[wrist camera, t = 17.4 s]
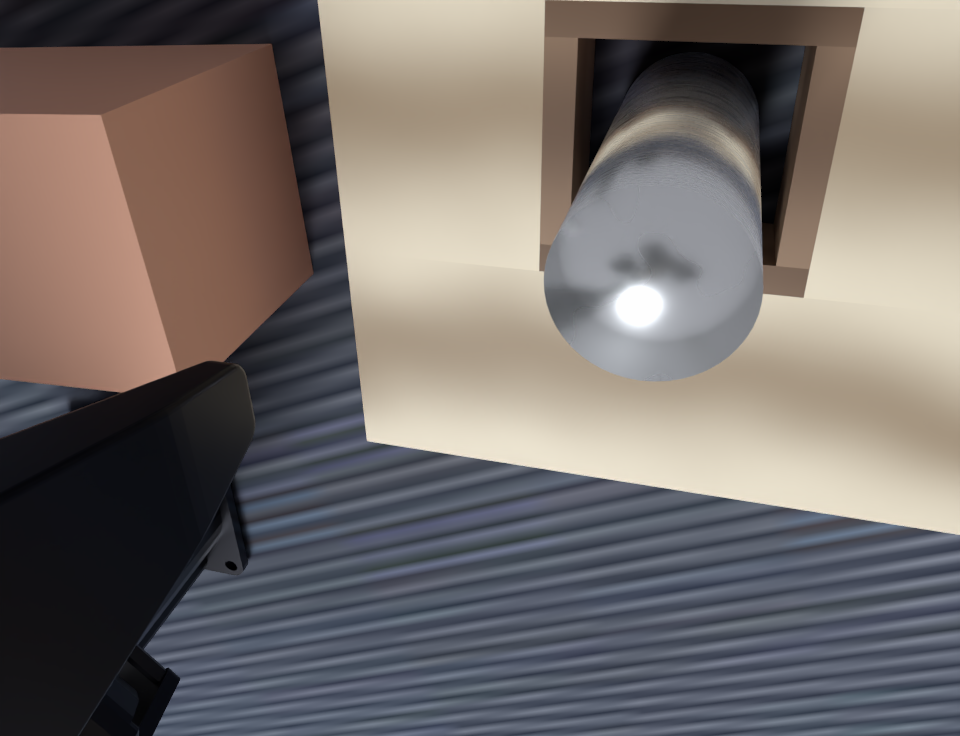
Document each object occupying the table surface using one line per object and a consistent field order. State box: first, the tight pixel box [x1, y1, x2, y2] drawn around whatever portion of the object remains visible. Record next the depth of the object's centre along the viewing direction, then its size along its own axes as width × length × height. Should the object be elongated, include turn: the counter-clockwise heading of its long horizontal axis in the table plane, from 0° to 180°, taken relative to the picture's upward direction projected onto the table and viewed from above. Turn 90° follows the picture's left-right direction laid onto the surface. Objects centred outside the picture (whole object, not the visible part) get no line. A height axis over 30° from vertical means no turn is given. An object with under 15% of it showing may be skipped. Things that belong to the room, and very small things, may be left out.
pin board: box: [318, 0, 960, 535], centre depth 19 cm, size 18×16×2 cm
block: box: [0, 44, 313, 393], centre depth 22 cm, size 6×9×7 cm
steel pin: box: [544, 52, 763, 382], centre depth 16 cm, size 3×3×9 cm
